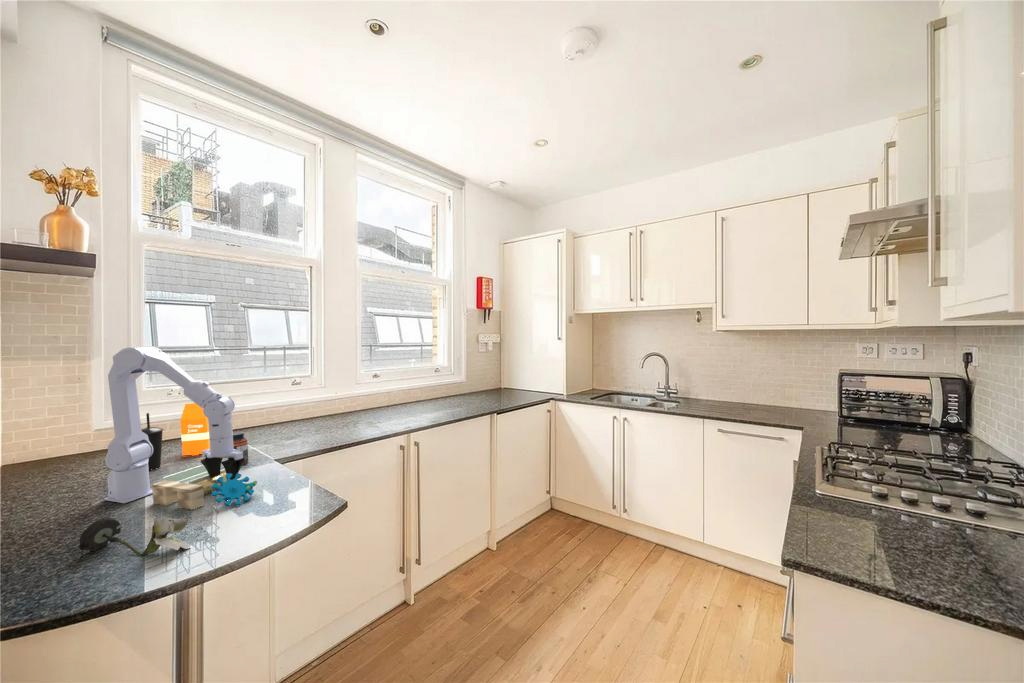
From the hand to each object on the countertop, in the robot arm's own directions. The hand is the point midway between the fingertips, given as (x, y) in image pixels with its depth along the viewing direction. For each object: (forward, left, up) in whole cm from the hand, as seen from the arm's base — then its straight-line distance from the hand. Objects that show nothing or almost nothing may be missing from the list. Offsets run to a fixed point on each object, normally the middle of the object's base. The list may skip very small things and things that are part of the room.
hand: (223, 480), depth 116 cm
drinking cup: (-44, +5, -2) cm, 44 cm away
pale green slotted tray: (-11, 0, -2) cm, 11 cm away
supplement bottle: (-16, +16, -2) cm, 23 cm away
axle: (0, -3, 0) cm, 3 cm away
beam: (0, -12, -2) cm, 12 cm away
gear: (+15, -7, -2) cm, 16 cm away
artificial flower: (+18, -29, -2) cm, 34 cm away
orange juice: (-47, +23, -2) cm, 52 cm away
